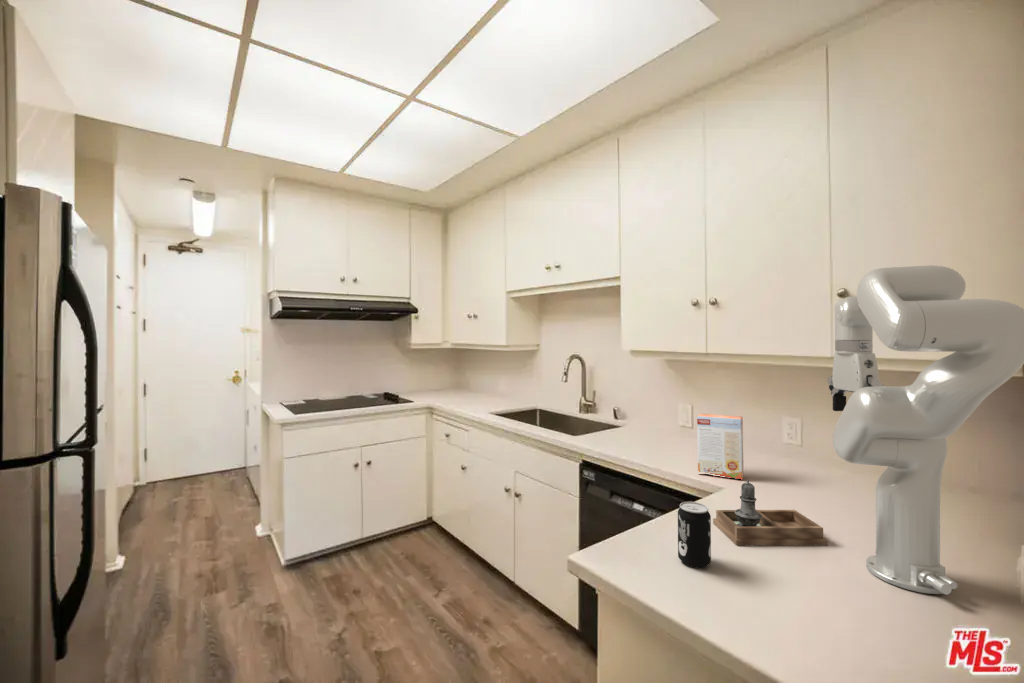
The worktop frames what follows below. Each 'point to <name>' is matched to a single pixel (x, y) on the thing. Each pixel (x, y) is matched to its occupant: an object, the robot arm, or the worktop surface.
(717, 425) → the cracker box
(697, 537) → the beverage can
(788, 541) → the wooden divided tray
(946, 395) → the robot arm
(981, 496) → the worktop surface
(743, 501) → the salt shaker
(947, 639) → the worktop surface
